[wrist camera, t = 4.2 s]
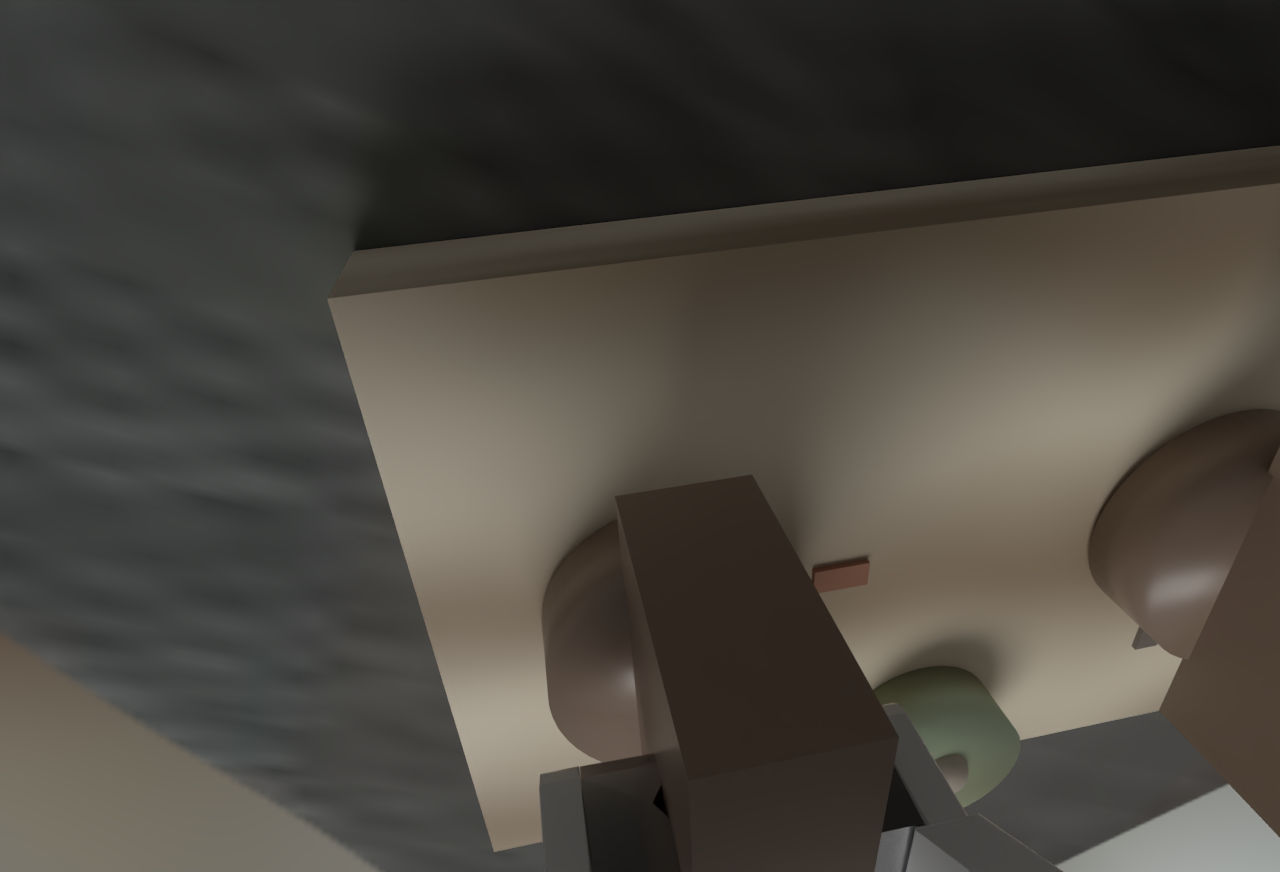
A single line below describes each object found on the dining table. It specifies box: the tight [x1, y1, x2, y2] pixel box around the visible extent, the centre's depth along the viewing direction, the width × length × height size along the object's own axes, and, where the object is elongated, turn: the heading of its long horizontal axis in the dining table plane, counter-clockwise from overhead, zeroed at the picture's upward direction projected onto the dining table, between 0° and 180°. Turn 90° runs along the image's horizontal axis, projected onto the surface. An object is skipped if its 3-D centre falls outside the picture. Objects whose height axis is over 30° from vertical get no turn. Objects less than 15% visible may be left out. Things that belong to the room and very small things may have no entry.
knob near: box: [541, 475, 899, 872], centre depth 10 cm, size 7×4×6 cm, turn 4°
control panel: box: [327, 145, 1280, 852], centre depth 13 cm, size 12×18×4 cm
